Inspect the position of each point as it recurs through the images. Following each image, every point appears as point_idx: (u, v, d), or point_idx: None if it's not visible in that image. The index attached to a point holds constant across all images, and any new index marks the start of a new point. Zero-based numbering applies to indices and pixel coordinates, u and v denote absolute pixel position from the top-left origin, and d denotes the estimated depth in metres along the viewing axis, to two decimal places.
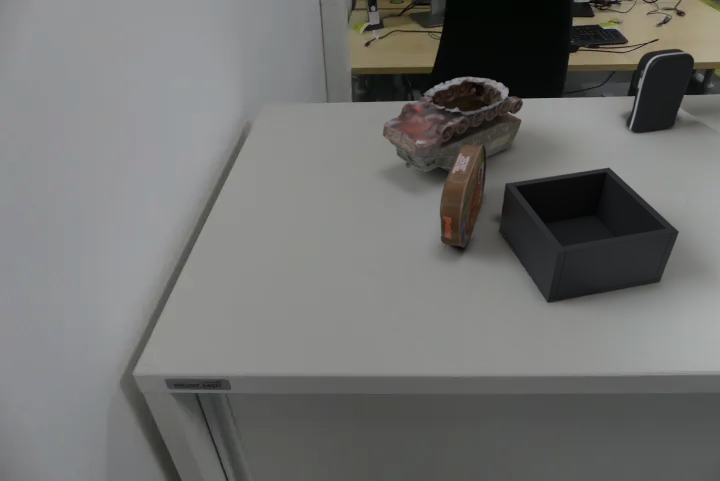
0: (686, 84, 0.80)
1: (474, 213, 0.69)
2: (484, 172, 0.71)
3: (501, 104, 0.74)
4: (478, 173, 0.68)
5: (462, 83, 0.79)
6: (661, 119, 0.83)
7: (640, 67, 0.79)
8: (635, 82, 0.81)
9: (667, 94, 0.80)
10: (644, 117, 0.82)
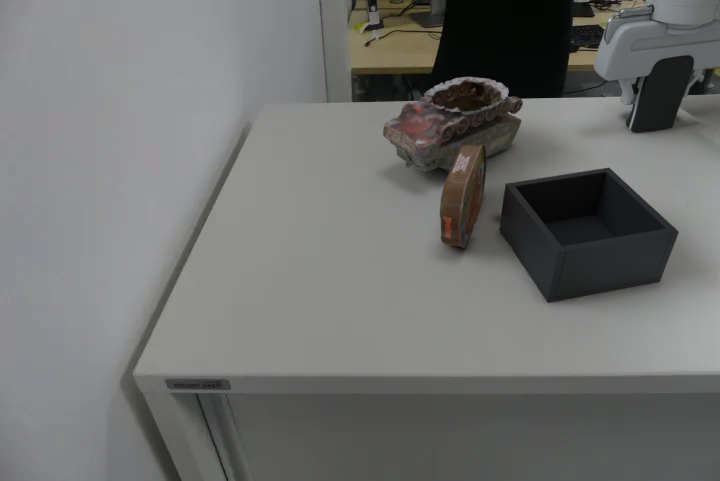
0: (686, 84, 0.80)
1: (474, 213, 0.69)
2: (484, 172, 0.71)
3: (501, 104, 0.74)
4: (478, 173, 0.68)
5: (462, 83, 0.79)
6: (661, 119, 0.83)
7: None
8: None
9: (666, 94, 0.80)
10: (644, 117, 0.82)
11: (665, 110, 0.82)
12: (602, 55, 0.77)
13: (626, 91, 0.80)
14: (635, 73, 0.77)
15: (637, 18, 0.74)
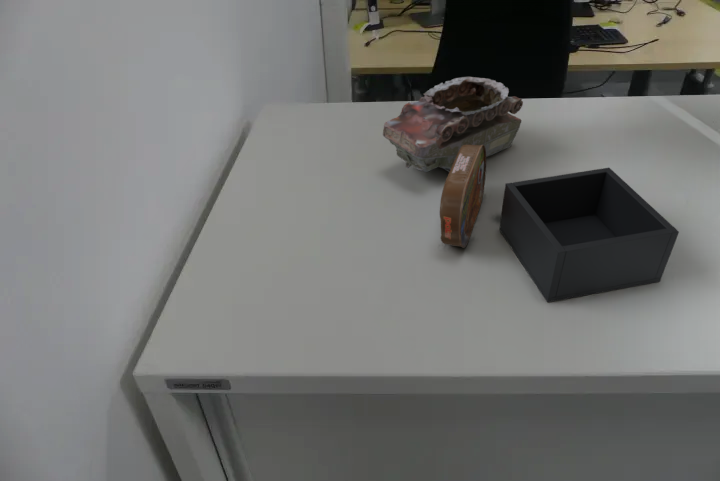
0: None
1: (474, 213, 0.69)
2: (484, 172, 0.71)
3: (501, 104, 0.74)
4: (478, 173, 0.68)
5: (462, 83, 0.79)
6: None
7: None
8: None
9: None
10: None
11: None
12: None
13: None
14: None
15: None
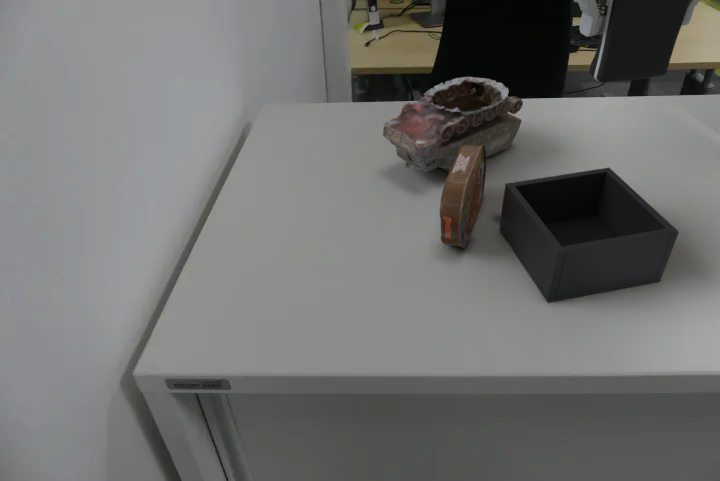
0: None
1: (474, 213, 0.69)
2: (484, 172, 0.71)
3: (501, 104, 0.74)
4: (478, 173, 0.68)
5: (462, 83, 0.79)
6: (646, 61, 0.50)
7: None
8: None
9: (655, 15, 0.47)
10: (617, 56, 0.49)
11: (653, 44, 0.49)
12: None
13: (587, 11, 0.48)
14: None
15: None
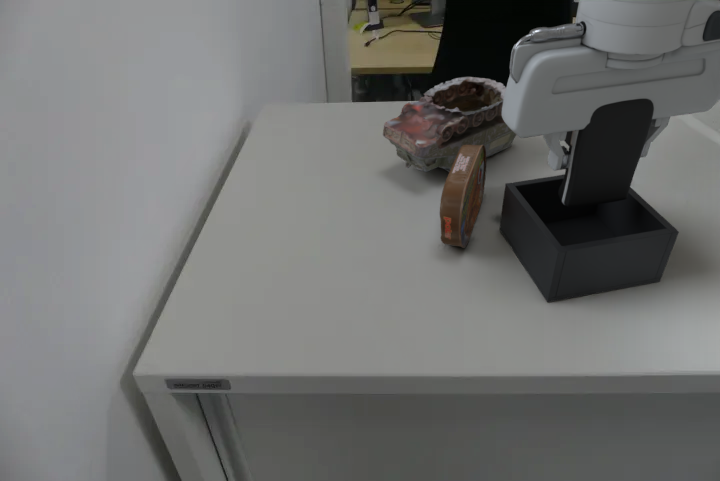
0: (643, 140, 0.52)
1: (474, 213, 0.69)
2: (484, 172, 0.71)
3: (501, 104, 0.74)
4: (478, 173, 0.68)
5: (462, 83, 0.79)
6: (608, 189, 0.55)
7: None
8: (567, 136, 0.54)
9: (614, 154, 0.53)
10: (582, 187, 0.55)
11: (613, 177, 0.54)
12: (510, 99, 0.49)
13: (553, 150, 0.53)
14: (562, 126, 0.50)
15: (560, 43, 0.47)
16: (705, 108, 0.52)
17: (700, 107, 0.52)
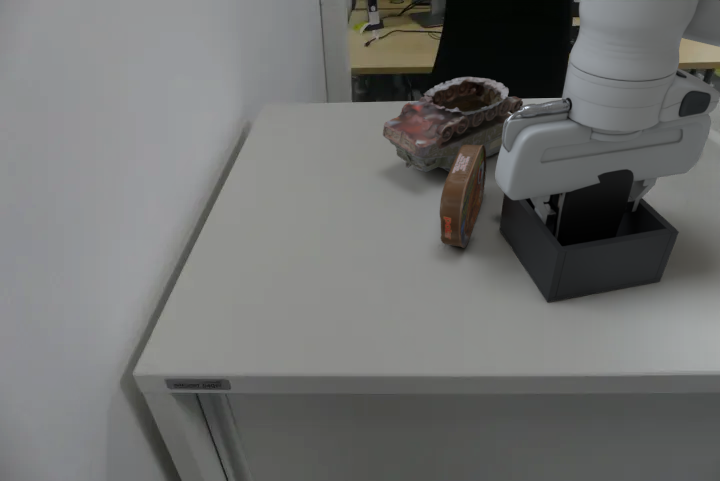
0: (624, 203, 0.57)
1: (474, 213, 0.69)
2: (484, 172, 0.71)
3: (501, 104, 0.74)
4: (478, 173, 0.68)
5: (462, 83, 0.79)
6: None
7: None
8: (555, 199, 0.58)
9: (598, 216, 0.57)
10: None
11: (598, 235, 0.59)
12: (503, 165, 0.53)
13: (538, 210, 0.57)
14: (551, 190, 0.54)
15: (548, 117, 0.51)
16: (684, 171, 0.56)
17: (679, 170, 0.56)
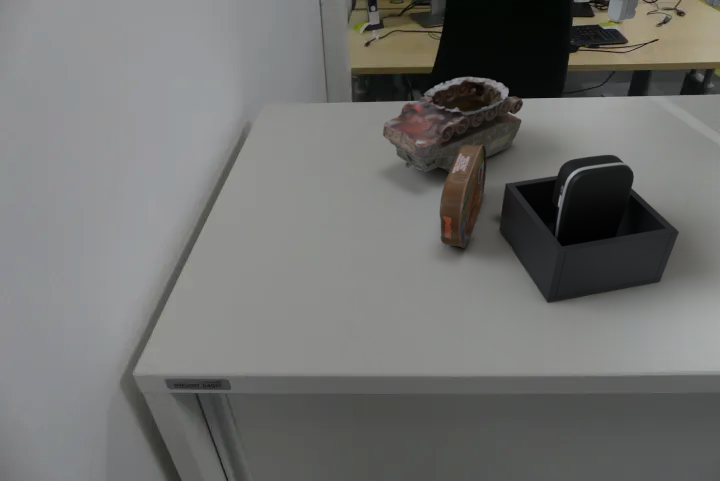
0: (624, 203, 0.57)
1: (474, 213, 0.69)
2: (484, 172, 0.71)
3: (501, 104, 0.74)
4: (478, 173, 0.68)
5: (462, 83, 0.79)
6: None
7: (560, 180, 0.56)
8: (555, 199, 0.58)
9: (598, 216, 0.57)
10: None
11: (598, 235, 0.59)
12: None
13: None
14: None
15: None
16: None
17: None
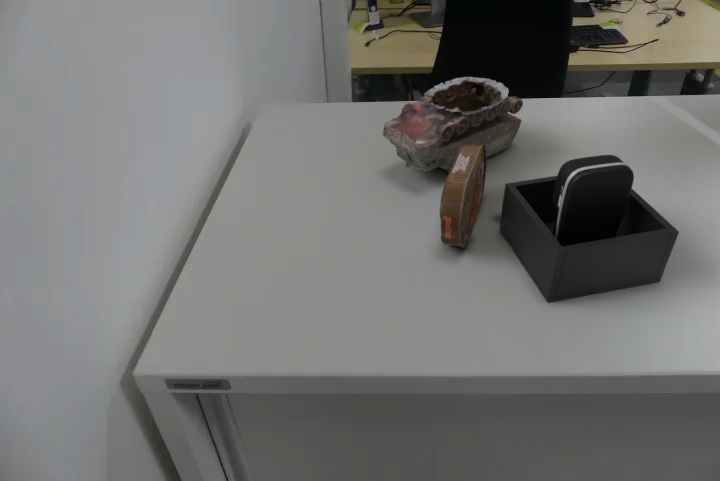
0: (624, 203, 0.57)
1: (474, 213, 0.69)
2: (484, 172, 0.71)
3: (501, 104, 0.74)
4: (478, 173, 0.68)
5: (462, 83, 0.79)
6: None
7: (560, 180, 0.56)
8: (555, 199, 0.58)
9: (598, 216, 0.57)
10: None
11: (598, 235, 0.59)
12: None
13: None
14: None
15: None
16: None
17: None
